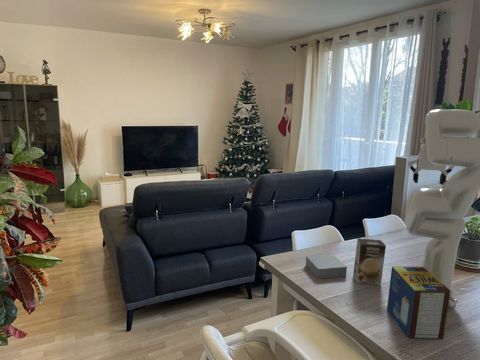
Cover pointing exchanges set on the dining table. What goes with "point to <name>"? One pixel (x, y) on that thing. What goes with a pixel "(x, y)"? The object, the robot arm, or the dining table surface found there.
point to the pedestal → (326, 266)
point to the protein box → (418, 302)
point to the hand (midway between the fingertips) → (428, 183)
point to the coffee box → (369, 261)
